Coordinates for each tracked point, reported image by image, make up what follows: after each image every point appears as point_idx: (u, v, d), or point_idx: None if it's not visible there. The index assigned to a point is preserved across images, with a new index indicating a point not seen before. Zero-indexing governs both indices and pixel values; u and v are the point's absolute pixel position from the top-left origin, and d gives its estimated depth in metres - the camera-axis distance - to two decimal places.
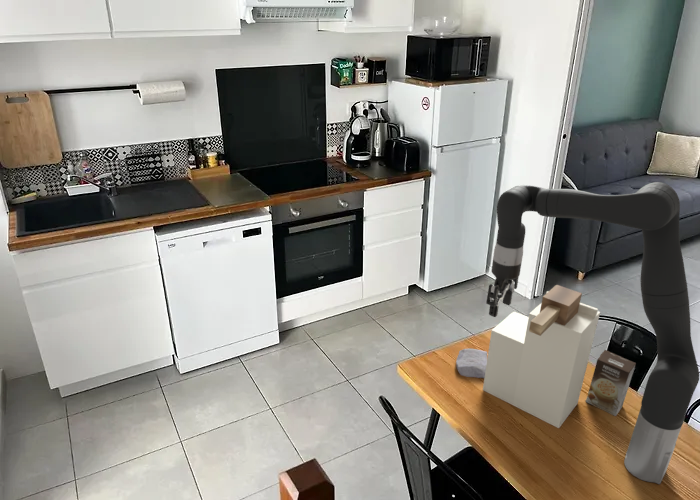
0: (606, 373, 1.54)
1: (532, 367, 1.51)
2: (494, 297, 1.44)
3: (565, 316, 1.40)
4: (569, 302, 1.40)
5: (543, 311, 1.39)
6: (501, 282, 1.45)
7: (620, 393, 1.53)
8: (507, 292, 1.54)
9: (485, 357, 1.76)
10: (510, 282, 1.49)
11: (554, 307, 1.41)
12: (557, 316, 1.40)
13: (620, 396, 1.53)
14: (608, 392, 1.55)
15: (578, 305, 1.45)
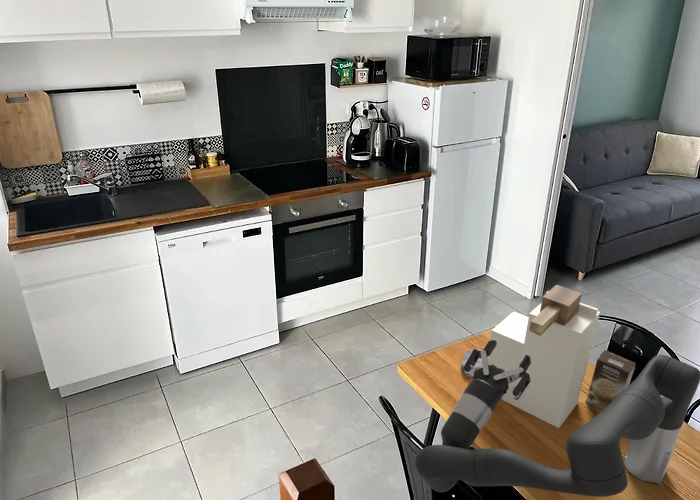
0: (606, 373, 1.54)
1: (532, 367, 1.51)
2: (523, 385, 1.18)
3: (565, 316, 1.40)
4: (569, 302, 1.40)
5: (543, 311, 1.39)
6: (503, 390, 1.19)
7: None
8: (488, 354, 1.27)
9: None
10: (488, 374, 1.22)
11: (554, 307, 1.41)
12: (557, 316, 1.40)
13: None
14: (608, 392, 1.55)
15: (578, 305, 1.45)
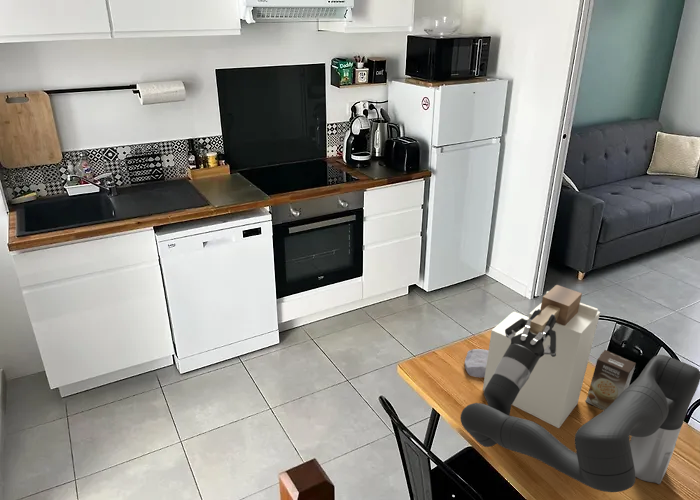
0: (606, 373, 1.54)
1: None
2: (555, 341, 1.31)
3: (565, 316, 1.40)
4: (569, 302, 1.40)
5: (543, 311, 1.39)
6: (539, 354, 1.31)
7: (620, 393, 1.53)
8: None
9: None
10: (524, 341, 1.33)
11: (554, 307, 1.41)
12: (557, 316, 1.40)
13: None
14: (608, 392, 1.55)
15: (578, 305, 1.45)
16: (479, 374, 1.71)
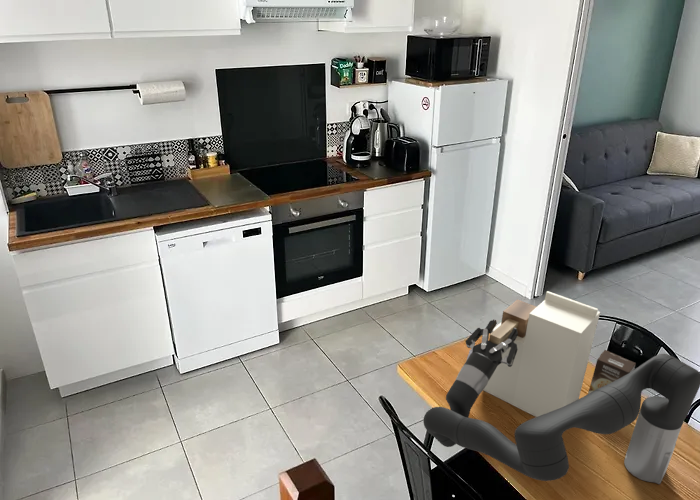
0: (606, 373, 1.54)
1: (532, 367, 1.51)
2: (514, 353, 1.42)
3: (523, 329, 1.52)
4: (527, 316, 1.52)
5: (502, 325, 1.51)
6: (497, 361, 1.42)
7: None
8: (489, 332, 1.50)
9: None
10: (484, 349, 1.45)
11: (513, 321, 1.53)
12: None
13: None
14: None
15: None
16: None
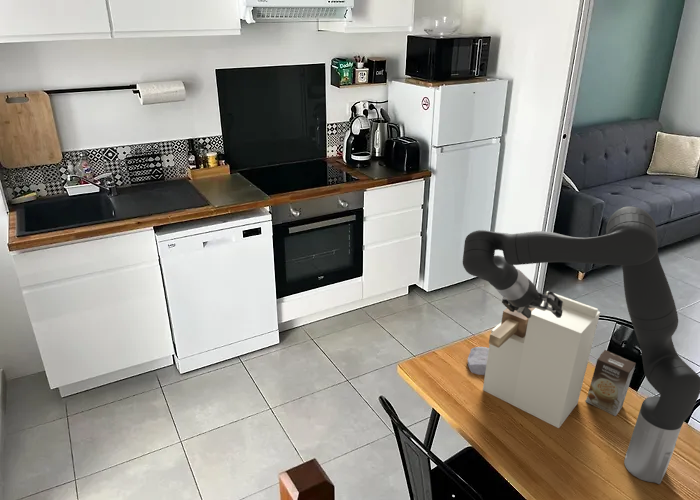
0: (606, 373, 1.54)
1: (532, 367, 1.51)
2: (557, 298, 1.34)
3: (523, 329, 1.52)
4: None
5: (502, 325, 1.51)
6: (539, 293, 1.35)
7: (620, 393, 1.53)
8: (523, 309, 1.44)
9: None
10: None
11: (513, 321, 1.53)
12: (516, 329, 1.53)
13: (620, 396, 1.53)
14: (608, 392, 1.55)
15: None
16: (481, 372, 1.73)
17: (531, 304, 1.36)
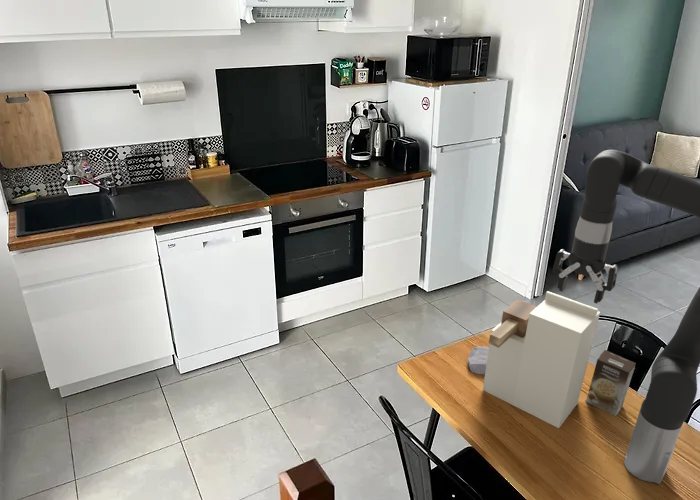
0: (606, 373, 1.54)
1: (532, 367, 1.51)
2: (616, 277, 1.26)
3: (523, 329, 1.52)
4: (527, 316, 1.52)
5: (502, 325, 1.51)
6: None
7: (620, 393, 1.53)
8: (565, 277, 1.34)
9: None
10: None
11: (513, 321, 1.53)
12: (516, 329, 1.53)
13: (620, 396, 1.53)
14: (608, 392, 1.55)
15: None
16: (482, 371, 1.73)
17: (590, 266, 1.27)
